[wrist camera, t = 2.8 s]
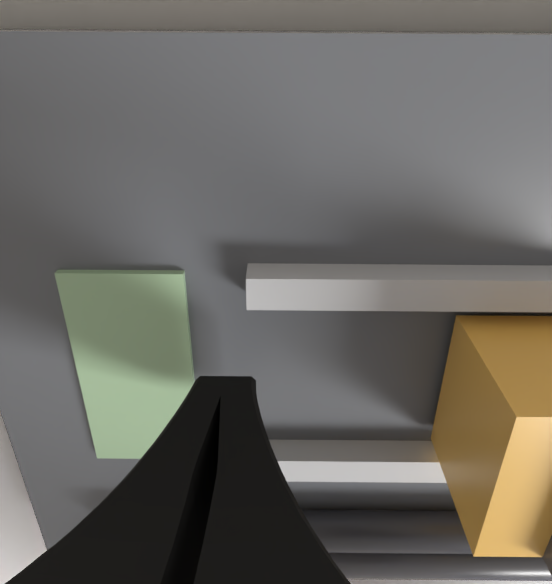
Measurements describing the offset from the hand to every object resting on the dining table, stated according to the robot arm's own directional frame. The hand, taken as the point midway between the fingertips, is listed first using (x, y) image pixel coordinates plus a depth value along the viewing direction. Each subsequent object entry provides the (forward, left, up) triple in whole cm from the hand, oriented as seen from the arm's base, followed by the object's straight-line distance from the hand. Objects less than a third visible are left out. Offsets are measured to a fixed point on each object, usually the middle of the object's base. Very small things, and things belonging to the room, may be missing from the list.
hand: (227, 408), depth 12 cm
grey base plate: (-7, 0, -3) cm, 8 cm away
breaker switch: (-8, 0, -1) cm, 8 cm away
